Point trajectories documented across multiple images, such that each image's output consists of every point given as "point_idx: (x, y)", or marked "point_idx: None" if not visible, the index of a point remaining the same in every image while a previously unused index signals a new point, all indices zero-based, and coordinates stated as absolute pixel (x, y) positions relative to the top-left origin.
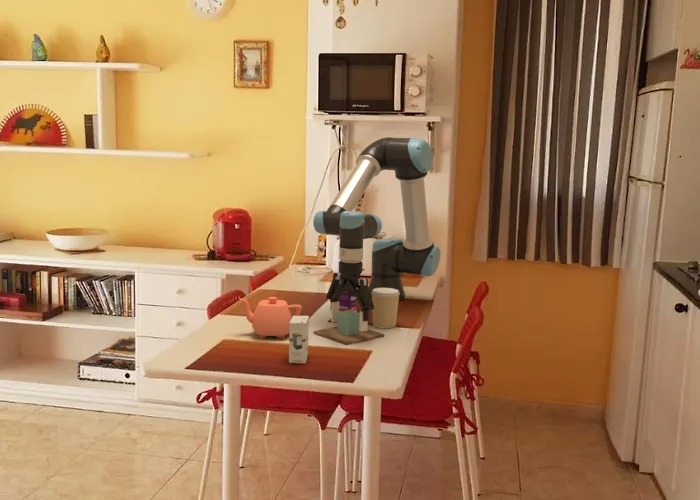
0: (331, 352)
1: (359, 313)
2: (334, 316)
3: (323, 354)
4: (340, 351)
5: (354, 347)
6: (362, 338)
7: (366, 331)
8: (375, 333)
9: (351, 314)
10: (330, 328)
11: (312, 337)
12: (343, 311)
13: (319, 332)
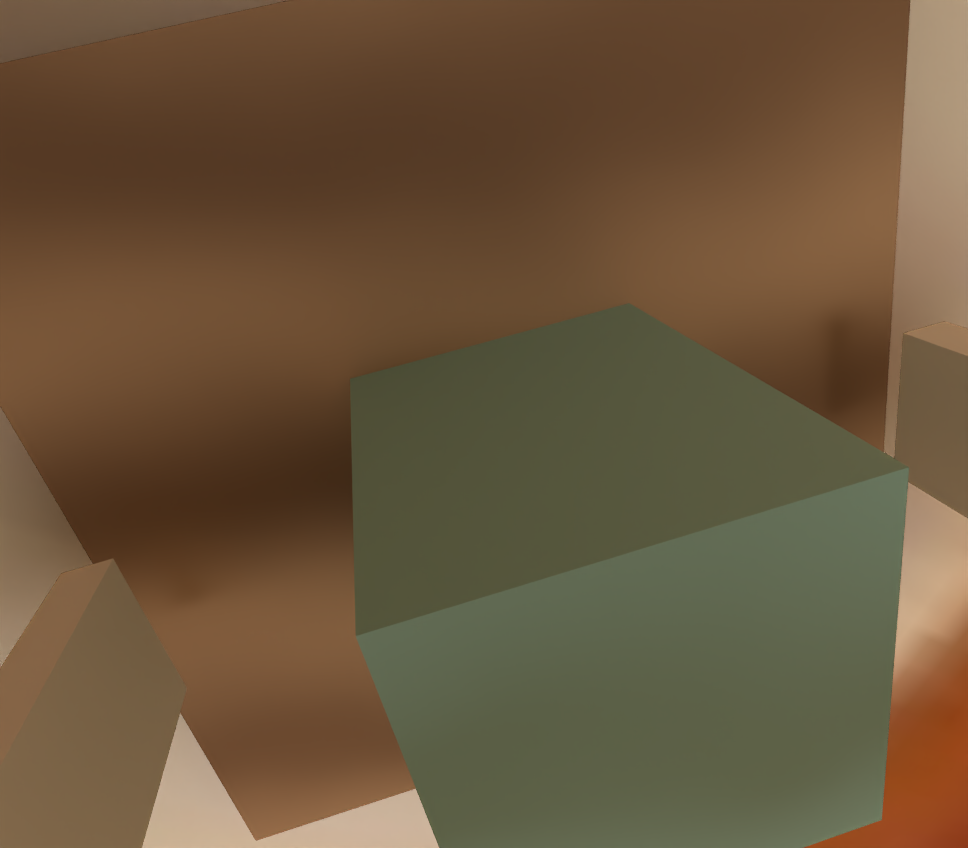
0: (924, 786)
1: (901, 499)
2: (132, 753)
3: (920, 843)
4: (955, 719)
5: (958, 570)
6: (867, 396)
7: (592, 118)
8: (786, 18)
9: (860, 736)
10: (178, 624)
11: (418, 838)
12: (485, 835)
13: (349, 793)
